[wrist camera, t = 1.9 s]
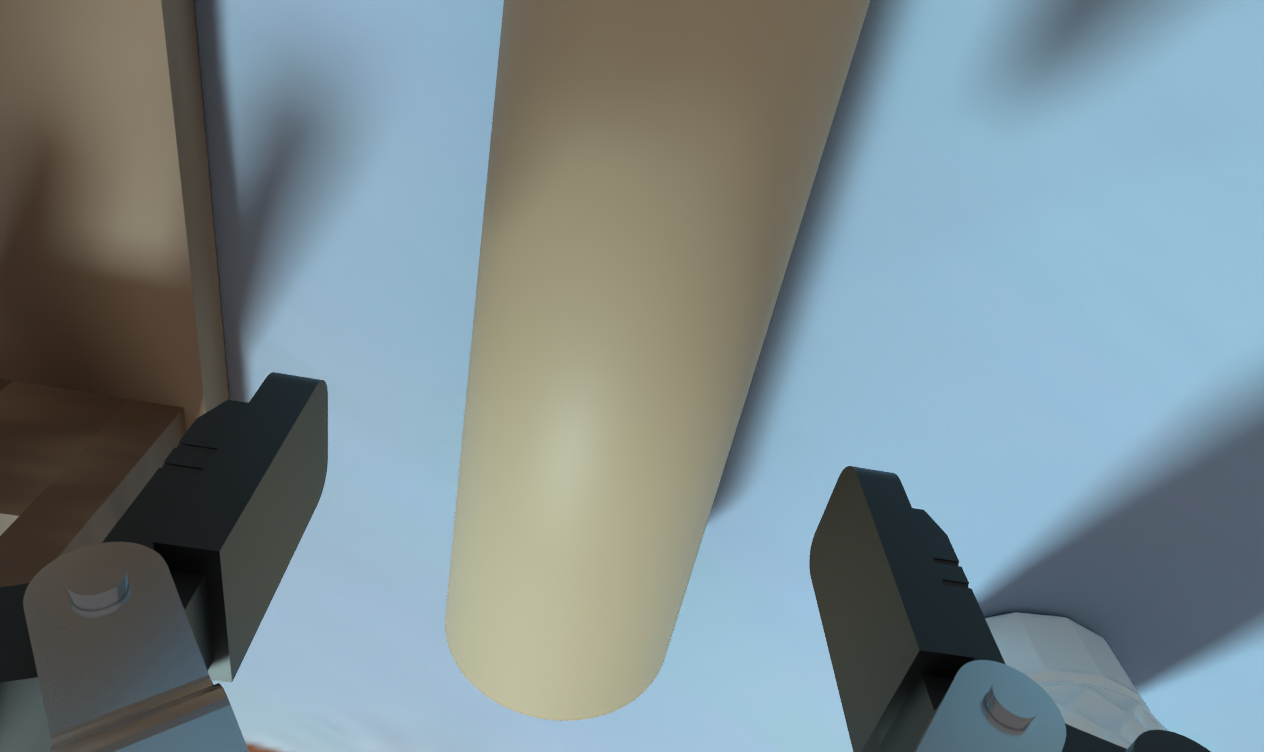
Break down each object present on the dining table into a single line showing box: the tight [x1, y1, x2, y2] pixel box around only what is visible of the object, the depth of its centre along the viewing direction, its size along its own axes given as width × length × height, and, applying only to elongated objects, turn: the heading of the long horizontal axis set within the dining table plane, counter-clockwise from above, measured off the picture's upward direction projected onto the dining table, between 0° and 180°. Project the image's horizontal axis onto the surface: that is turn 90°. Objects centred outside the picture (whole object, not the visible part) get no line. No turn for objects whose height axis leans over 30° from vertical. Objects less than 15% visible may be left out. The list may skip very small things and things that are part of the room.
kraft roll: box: [445, 0, 870, 721], centre depth 17 cm, size 6×20×6 cm, turn 169°
